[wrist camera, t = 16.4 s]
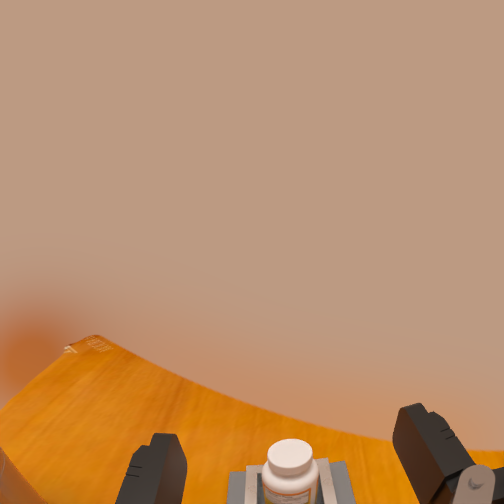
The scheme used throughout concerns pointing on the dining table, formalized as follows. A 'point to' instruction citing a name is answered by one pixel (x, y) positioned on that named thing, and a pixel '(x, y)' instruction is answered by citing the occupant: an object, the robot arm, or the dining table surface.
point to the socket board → (328, 494)
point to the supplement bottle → (290, 474)
